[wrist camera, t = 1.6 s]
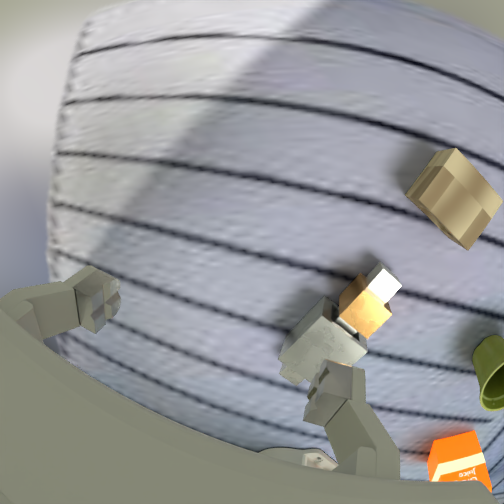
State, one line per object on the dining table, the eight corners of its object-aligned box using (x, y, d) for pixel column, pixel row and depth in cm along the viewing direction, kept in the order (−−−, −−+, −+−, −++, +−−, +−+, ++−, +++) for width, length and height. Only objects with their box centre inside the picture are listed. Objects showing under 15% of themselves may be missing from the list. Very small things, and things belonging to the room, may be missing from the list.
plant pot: (466, 331, 33) (487, 365, 25) (515, 318, 30) (542, 346, 22) (459, 382, 35) (473, 418, 27) (506, 368, 32) (525, 400, 24)
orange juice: (465, 453, 37) (481, 530, 19) (426, 462, 40) (434, 544, 21) (475, 429, 36) (498, 511, 17) (433, 439, 39) (446, 528, 20)
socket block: (479, 196, 29) (503, 201, 23) (448, 238, 32) (468, 250, 26) (436, 151, 29) (455, 147, 23) (404, 195, 32) (418, 199, 26)
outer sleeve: (364, 327, 37) (367, 351, 32) (325, 364, 40) (321, 390, 35) (324, 295, 38) (321, 315, 32) (286, 335, 41) (277, 359, 35)
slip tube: (399, 277, 34) (409, 296, 29) (303, 372, 41) (297, 397, 36) (374, 255, 34) (381, 270, 29) (280, 354, 41) (271, 379, 36)
